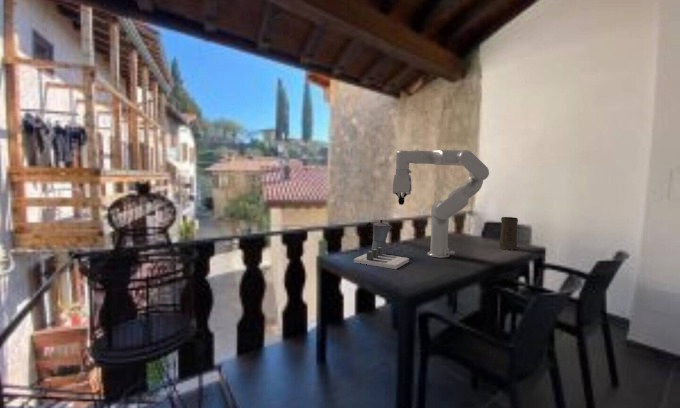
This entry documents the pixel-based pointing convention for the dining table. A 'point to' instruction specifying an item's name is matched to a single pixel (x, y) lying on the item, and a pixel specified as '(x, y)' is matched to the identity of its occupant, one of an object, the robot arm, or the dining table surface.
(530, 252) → the dining table surface
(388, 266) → the panel
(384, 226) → the moka pot
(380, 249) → the block
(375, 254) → the block
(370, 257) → the breaker
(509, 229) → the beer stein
